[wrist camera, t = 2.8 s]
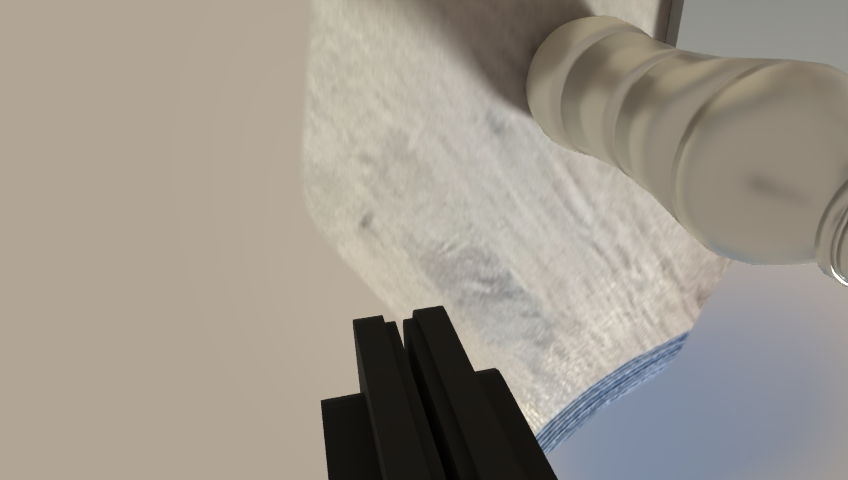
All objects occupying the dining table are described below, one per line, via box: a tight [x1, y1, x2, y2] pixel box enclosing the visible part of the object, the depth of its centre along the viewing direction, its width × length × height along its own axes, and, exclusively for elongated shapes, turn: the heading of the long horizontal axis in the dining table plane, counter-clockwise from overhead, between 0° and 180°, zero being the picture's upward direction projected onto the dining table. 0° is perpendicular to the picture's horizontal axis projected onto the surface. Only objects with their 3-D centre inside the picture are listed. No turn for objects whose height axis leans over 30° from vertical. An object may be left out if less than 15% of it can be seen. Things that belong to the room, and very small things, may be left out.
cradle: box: [665, 0, 848, 74], centre depth 32 cm, size 12×19×4 cm, turn 92°
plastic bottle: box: [526, 16, 848, 287], centre depth 22 cm, size 6×7×20 cm
